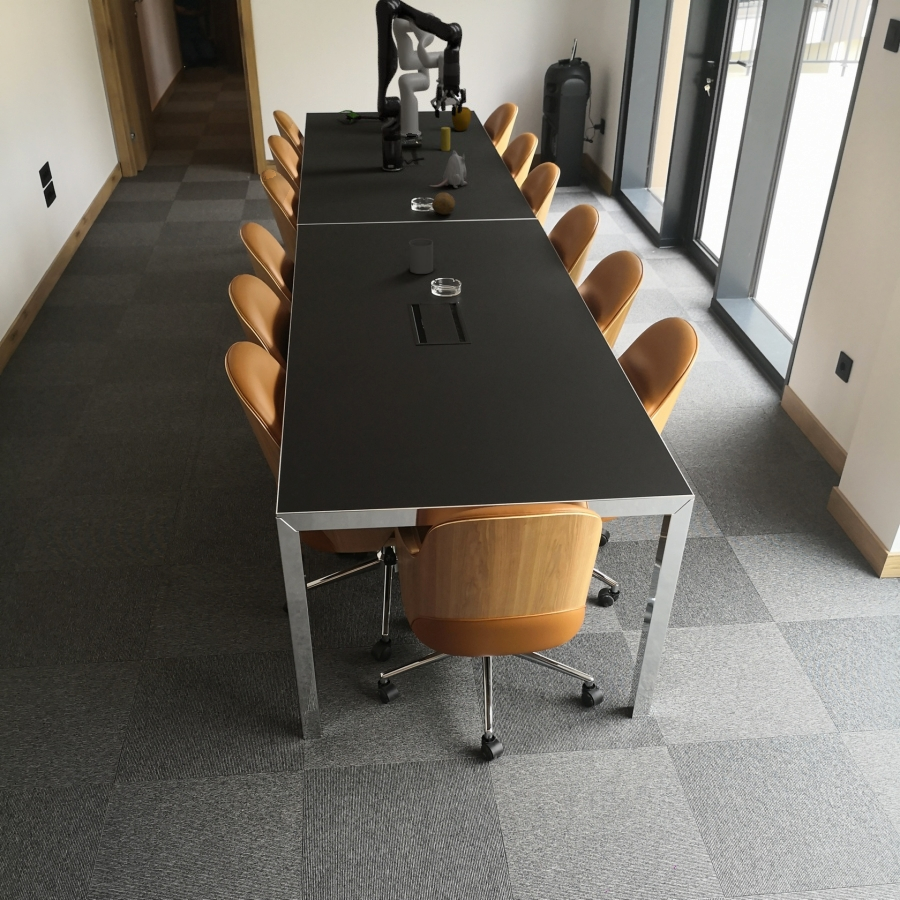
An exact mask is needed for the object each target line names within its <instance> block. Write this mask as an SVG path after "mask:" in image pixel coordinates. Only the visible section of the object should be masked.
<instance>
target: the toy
mask: <svg viewBox="0 0 900 900" xmlns="http://www.w3.org/2000/svg"><path fill="white" fill-rule="evenodd" d="M466 178H467V168H466V156H465V153H463V154H462V155H459V154H458V153H457V151H456V150H455V149H453V150H452V153H451V155H450V156H449V158H448V161H447V163H446V166H445V170H444V171H443V177H442V179H443V181H442V182H441V183H439V184H436V185H435V184H433V185H432V184H430V185H428V186H429V187H434V188H440V187H443V186H446V187H448V186H449V185H451V186H453V188H455V189H459V187H458V186H461V187H462V186H467V185H468V182H467V181H465V180H466Z"/></svg>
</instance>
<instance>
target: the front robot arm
mask: <svg viewBox="0 0 900 900" xmlns="http://www.w3.org/2000/svg"><path fill="white" fill-rule="evenodd" d="M374 10H375V21H376V31H377V32H376V33H377V34H376V35H377V98H376V99H377V101H376V110H377V115H378V117H380V118H388V119H391V120H389V122H387V123H385V124H382V126H381V151H382V152H381V153H382V170H383V171H385V172H400V171H402V170H403V165H404V164H403V163H406V164H407V165H410V164H411V163H412V162H413V161H420V160H421V161H422V160H424V159H425V157H424V156H423V157H416V158H412V159H411V158H410V160H409V161H408V160H406V159H405V158H404V156H403V148H402V136H401V101H400V96H395V95H394V96H387V91H388V89H389V86H390V84H391V82H392V81H393V78H394V77H395V76H396V73H397V71H398V69H399V60H398V51H397V44H396V41H395V39H394V35H393V20H394V19H395V18H399V19H404V20H407V21H409V22H411V23H412V24H413V25H415V26H416V27H417V28H419V29H420V30H422V31H425V32H427V33H430V34H433V35H434V37H436V38H438V39H439V40H441V41H444V42H446V46H445V48H444V50H443V51H444V64H443V85H444V86H443V87H442V86H438V87H437V86H436V88H437V100H439V101H440V102H441V106H440V110H441V111H442V112H446V108H447V106H446V102H445V100H446V99H447V98H454V99H455V100H456V102H457V103H458V105H457V113H461V112H462V107H463V104H466V103H467V89H466V88H460V87H461V86H460V85H461V64H460V60H461V59H460V58H461V57H460V51H461V46H462V42H463V41H462V40H463V28H462V26H461V25H460V24H459V23H458V22H450V23H447V22H444V21H442V20H441V18H439V17H437V16H436V15H435V16H433V15H430V14H427V13H428V12H425V11H422V10H419V9H417V8H415V7H413V6H411V5H410V4H408V3H406V2H404V1H403V0H378V1H377V2H376V4H375V9H374ZM442 91H444V94H443V96H442Z"/></svg>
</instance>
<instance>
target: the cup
mask: <svg viewBox="0 0 900 900" xmlns="http://www.w3.org/2000/svg"><path fill="white" fill-rule="evenodd" d="M408 253H409V272H411V273H412V274H416V275H426V274H430V273H432V272H434V241H433V240H431V239H428V238H422V237H421V238H420V237H419V238H414V239H411V240H410V241H409V242H408Z"/></svg>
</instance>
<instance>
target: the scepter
mask: <svg viewBox="0 0 900 900" xmlns="http://www.w3.org/2000/svg"><path fill="white" fill-rule="evenodd" d="M343 113H346V114H345V116H346V117H345V120H348V121H344V120H340V119H337V121H338V122H340V123H342V124H345V125H351V124H353V123H355V122H358V121H361V120H379V121H381V122H383V123H385V122H388V121H389V118H380V117H379V116H373V115H371V116H370V115H368V116H367V115H361V114H359V113H357V112H354V111H353V110H351V109H345V110H341V111H339V112H337V114H338V115H339V114H343Z"/></svg>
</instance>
